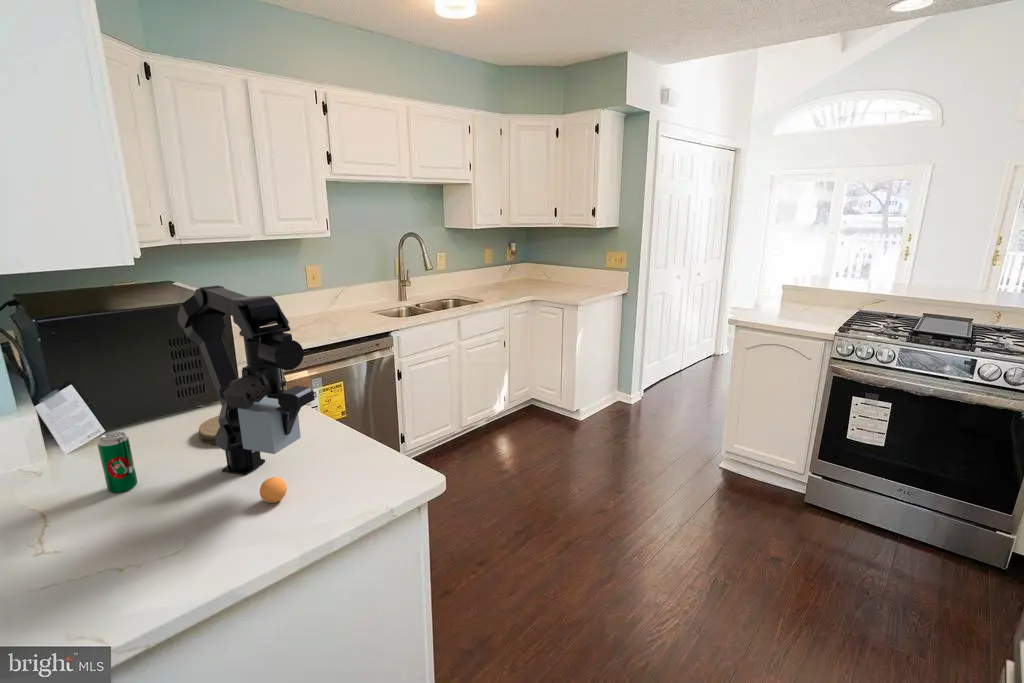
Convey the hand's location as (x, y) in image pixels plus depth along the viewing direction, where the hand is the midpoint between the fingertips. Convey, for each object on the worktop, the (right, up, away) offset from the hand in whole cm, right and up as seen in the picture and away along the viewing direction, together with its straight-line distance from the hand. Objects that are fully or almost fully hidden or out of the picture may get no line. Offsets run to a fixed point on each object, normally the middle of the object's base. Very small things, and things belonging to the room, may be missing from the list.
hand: (271, 431), depth 103 cm
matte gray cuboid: (0, -2, +1) cm, 3 cm away
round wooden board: (-24, -6, +29) cm, 38 cm away
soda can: (-33, -13, +2) cm, 35 cm away
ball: (+1, -11, -2) cm, 12 cm away
